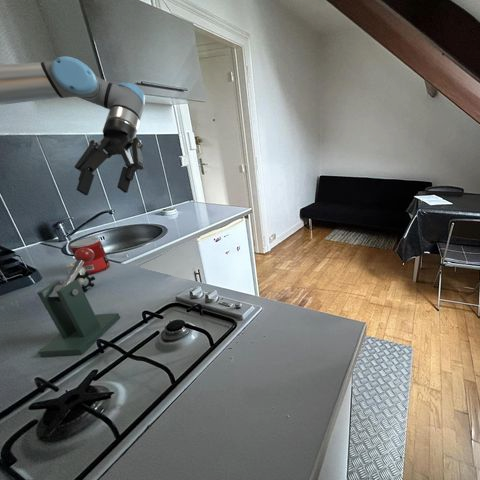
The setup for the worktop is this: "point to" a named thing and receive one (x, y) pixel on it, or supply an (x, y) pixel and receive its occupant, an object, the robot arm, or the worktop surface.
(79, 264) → the lever
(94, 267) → the canned food
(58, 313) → the bracket
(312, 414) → the worktop surface
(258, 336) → the worktop surface
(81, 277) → the valve
